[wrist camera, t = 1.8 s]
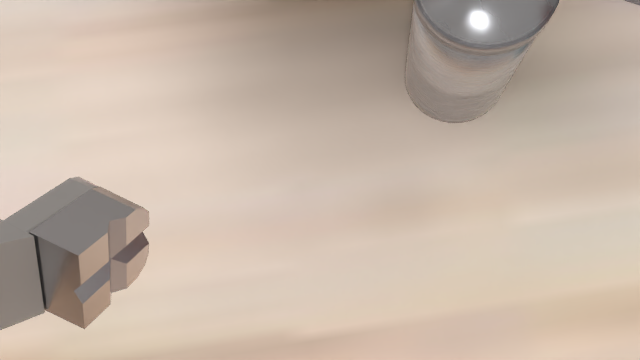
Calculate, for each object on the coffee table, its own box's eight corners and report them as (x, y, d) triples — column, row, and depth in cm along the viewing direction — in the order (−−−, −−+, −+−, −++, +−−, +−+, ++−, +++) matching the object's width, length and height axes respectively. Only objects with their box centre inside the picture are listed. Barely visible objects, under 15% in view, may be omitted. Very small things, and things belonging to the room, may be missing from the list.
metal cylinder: (387, 103, 28) (391, 15, 19) (425, 16, 29) (445, -105, 20) (484, 139, 27) (534, 64, 19) (520, 49, 28) (585, -64, 19)
